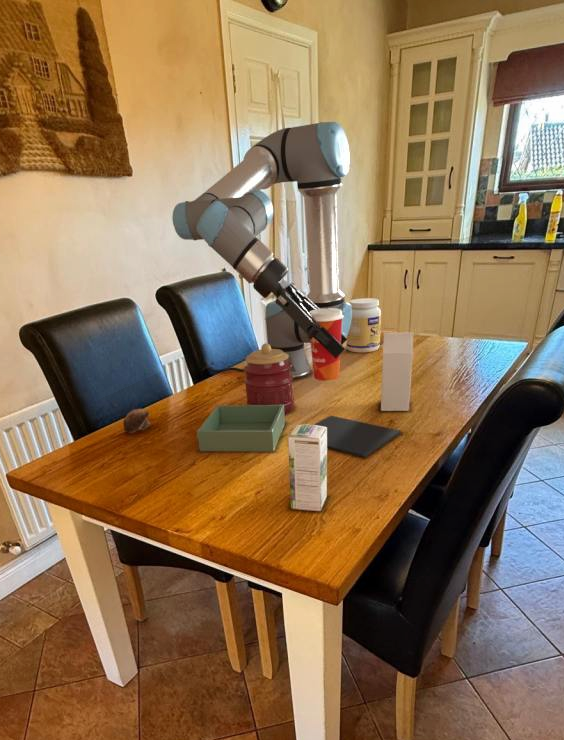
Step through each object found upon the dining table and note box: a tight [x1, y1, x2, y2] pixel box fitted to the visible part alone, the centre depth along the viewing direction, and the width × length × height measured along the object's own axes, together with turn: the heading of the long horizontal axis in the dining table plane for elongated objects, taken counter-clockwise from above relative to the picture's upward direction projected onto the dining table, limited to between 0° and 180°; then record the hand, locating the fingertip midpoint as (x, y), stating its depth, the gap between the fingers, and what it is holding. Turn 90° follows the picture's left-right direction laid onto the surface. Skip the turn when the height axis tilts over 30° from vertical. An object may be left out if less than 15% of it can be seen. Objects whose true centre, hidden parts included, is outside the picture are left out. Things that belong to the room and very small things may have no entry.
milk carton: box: [380, 331, 414, 412], centre depth 131 cm, size 7×7×19 cm
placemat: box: [313, 415, 401, 459], centre depth 122 cm, size 20×16×1 cm
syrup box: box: [287, 424, 328, 512], centre depth 92 cm, size 6×6×14 cm
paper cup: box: [309, 308, 344, 382], centre depth 111 cm, size 8×8×14 cm
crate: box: [196, 404, 286, 453], centre depth 125 cm, size 18×18×5 cm
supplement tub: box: [345, 297, 382, 354], centre depth 185 cm, size 12×12×17 cm
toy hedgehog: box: [122, 408, 153, 434], centre depth 133 cm, size 8×8×6 cm
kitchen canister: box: [242, 342, 295, 414], centre depth 137 cm, size 13×13×18 cm
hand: (341, 348), depth 111 cm, fingers closed on paper cup, 8 cm apart
